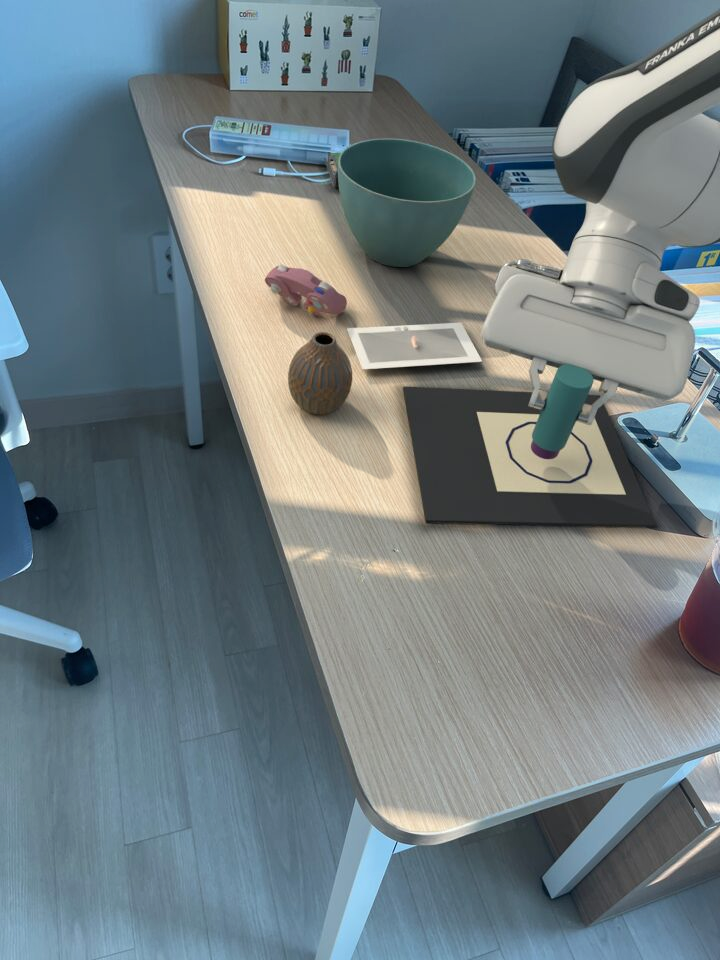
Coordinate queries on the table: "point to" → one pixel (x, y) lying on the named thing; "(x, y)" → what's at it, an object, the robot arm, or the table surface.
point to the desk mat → (516, 464)
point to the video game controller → (305, 290)
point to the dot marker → (560, 410)
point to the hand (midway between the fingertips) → (559, 415)
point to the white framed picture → (412, 345)
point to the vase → (320, 375)
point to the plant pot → (402, 197)
